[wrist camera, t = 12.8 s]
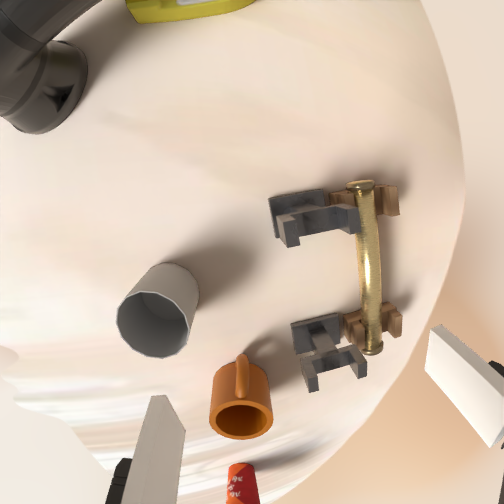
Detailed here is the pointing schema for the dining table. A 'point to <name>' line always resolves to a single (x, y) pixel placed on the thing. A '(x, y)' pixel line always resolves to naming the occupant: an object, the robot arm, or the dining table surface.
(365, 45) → the dining table surface
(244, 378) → the mug
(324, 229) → the post
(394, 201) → the rest
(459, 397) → the robot arm
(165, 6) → the ashtray
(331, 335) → the post
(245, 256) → the dining table surface
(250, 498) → the paper cup
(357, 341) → the rest
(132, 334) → the cup
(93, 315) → the dining table surface
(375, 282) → the rail
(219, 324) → the dining table surface
